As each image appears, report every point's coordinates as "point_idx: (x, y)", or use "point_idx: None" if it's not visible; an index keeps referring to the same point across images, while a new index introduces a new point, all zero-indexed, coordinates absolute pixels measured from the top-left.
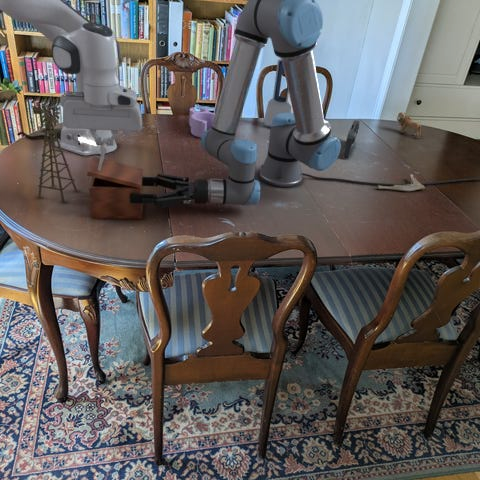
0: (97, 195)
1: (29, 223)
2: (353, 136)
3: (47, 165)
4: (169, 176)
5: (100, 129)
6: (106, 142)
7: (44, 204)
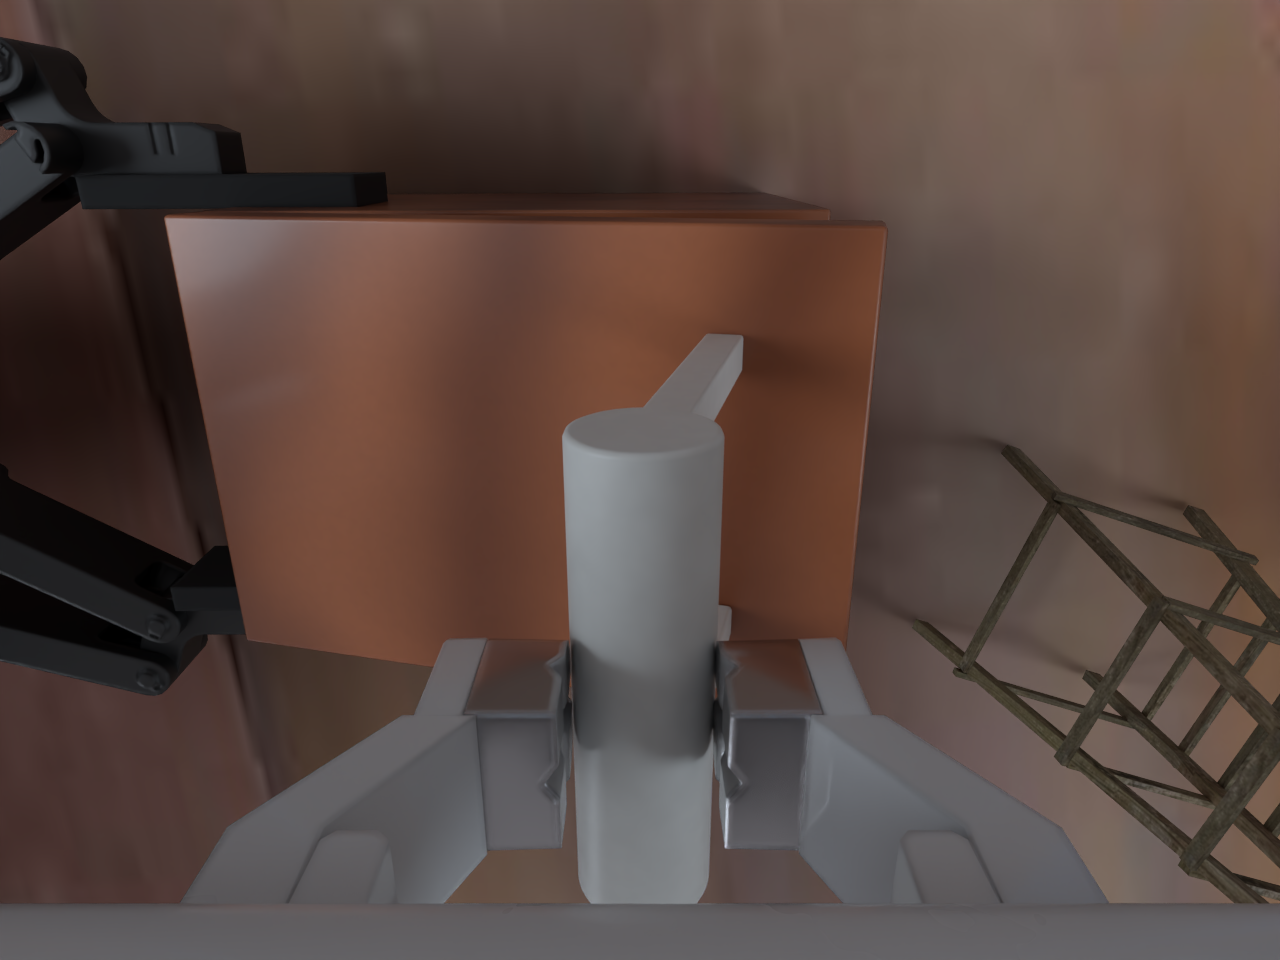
0: (724, 204)
1: (1274, 80)
2: None
3: (1255, 747)
4: (33, 641)
5: (740, 910)
6: (602, 724)
7: (1151, 408)
